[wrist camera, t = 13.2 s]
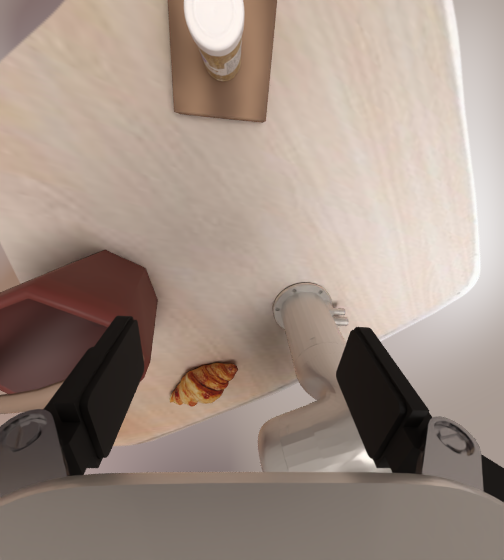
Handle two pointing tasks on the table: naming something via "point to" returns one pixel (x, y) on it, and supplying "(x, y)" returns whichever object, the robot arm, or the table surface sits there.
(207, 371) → the croissant
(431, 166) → the table surface
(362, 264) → the table surface
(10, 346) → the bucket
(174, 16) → the walnut plinth
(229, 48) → the sprinkles bottle
